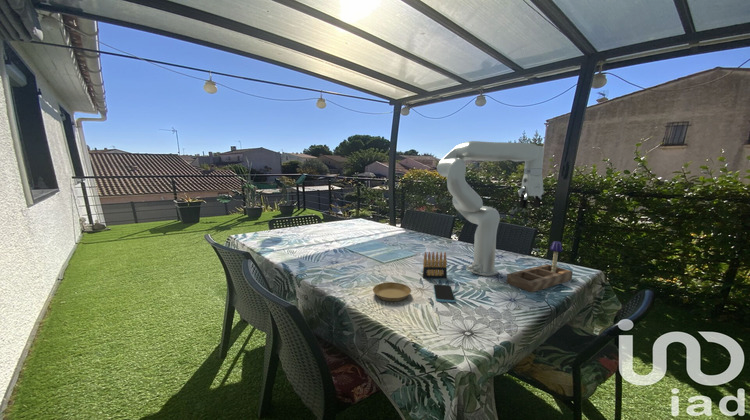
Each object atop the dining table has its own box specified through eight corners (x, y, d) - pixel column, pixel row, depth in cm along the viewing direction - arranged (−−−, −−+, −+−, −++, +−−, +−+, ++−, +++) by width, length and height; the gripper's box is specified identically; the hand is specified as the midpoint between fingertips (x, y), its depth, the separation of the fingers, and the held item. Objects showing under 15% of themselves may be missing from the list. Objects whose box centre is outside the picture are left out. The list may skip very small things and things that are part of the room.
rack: (531, 292, 107) (532, 281, 107) (506, 282, 117) (507, 273, 116) (571, 279, 121) (572, 270, 120) (546, 272, 130) (547, 263, 130)
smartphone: (450, 285, 113) (456, 300, 99) (450, 287, 113) (455, 303, 99) (433, 284, 114) (435, 299, 100) (433, 286, 114) (435, 302, 100)
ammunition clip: (423, 278, 123) (423, 252, 121) (422, 276, 125) (423, 251, 123) (446, 278, 122) (447, 252, 121) (445, 276, 124) (446, 251, 123)
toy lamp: (552, 275, 127) (555, 240, 125) (562, 278, 122) (565, 242, 120) (545, 276, 125) (548, 241, 123) (554, 279, 121) (558, 243, 119)
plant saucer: (367, 291, 109) (367, 285, 108) (399, 285, 114) (399, 279, 114) (382, 307, 95) (382, 300, 95) (418, 300, 101) (418, 293, 101)
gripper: (527, 171, 123) (524, 209, 126) (552, 172, 130) (549, 207, 132) (513, 172, 130) (510, 207, 132) (537, 172, 137) (534, 206, 139)
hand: (529, 207), depth 132 cm, fingers open, 9 cm apart
